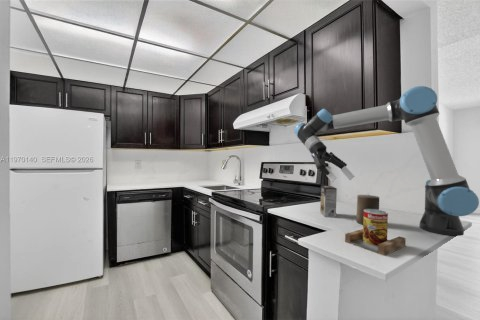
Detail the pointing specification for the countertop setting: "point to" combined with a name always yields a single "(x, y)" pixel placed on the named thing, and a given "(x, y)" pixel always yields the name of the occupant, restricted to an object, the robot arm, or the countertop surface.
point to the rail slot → (382, 248)
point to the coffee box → (328, 201)
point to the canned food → (375, 226)
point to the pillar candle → (366, 205)
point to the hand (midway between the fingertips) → (343, 179)
